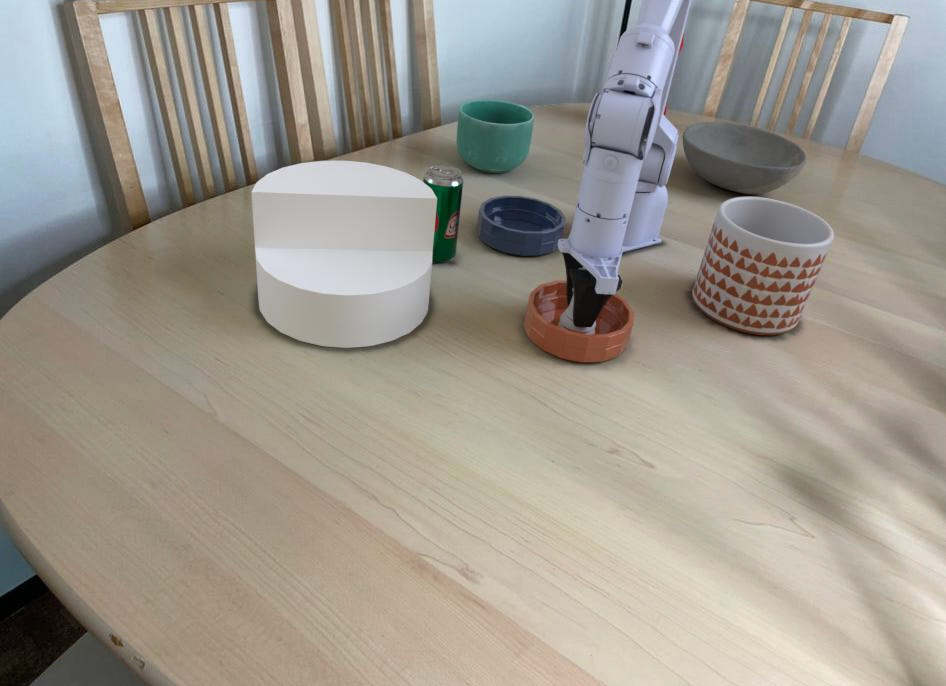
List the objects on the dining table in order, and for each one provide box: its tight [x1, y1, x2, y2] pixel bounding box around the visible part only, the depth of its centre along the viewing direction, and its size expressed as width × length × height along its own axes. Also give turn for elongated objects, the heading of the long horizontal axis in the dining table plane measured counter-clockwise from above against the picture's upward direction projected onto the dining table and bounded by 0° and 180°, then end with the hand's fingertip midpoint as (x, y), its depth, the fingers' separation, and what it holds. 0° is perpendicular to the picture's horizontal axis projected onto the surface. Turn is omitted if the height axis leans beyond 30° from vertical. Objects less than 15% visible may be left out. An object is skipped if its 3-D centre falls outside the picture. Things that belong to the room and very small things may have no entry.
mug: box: [456, 99, 535, 174], centre depth 128 cm, size 17×13×10 cm
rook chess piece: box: [558, 267, 596, 335], centre depth 85 cm, size 4×4×8 cm
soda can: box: [422, 164, 464, 264], centre depth 97 cm, size 5×5×12 cm
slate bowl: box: [476, 195, 567, 257], centre depth 106 cm, size 12×12×4 cm
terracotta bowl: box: [523, 279, 635, 363], centre depth 87 cm, size 12×12×4 cm
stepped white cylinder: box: [250, 160, 437, 349], centre depth 85 cm, size 20×20×13 cm
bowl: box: [682, 121, 807, 195], centre depth 132 cm, size 21×21×8 cm
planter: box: [691, 196, 835, 336], centre depth 94 cm, size 14×14×13 cm
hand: (579, 315), depth 86 cm, fingers closed on rook chess piece, 3 cm apart
